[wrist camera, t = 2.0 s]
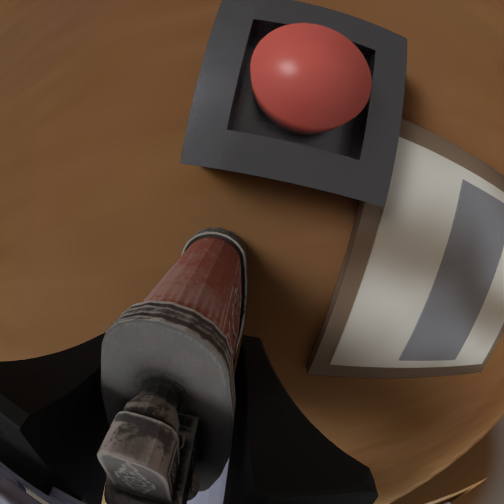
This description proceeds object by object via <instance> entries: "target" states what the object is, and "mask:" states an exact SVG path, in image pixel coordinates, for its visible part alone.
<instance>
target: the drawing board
mask: <svg viewBox="0 0 504 504" xmlns="http://www.w3.org/2000/svg"><path fill="white" fill-rule="evenodd" d="M503 332H504V176H503V175H502V174H500V173H499V172H497V171H496V170H495V169H493V168H492V167H490V166H489V165H487V164H486V163H484V162H483V161H481V160H480V159H478V158H476V157H475V156H473V155H472V154H470V153H468V152H467V151H465V150H463V149H462V148H460V147H458V146H456V145H455V144H453V143H451V142H449V141H447V140H446V139H444V138H442V137H440V136H438V135H436V134H434V133H432V132H430V131H428V130H426V129H424V128H422V127H420V126H418V125H416V124H413V123H411V122H409V121H407V120H405V119H401V126H400V133H399V139H398V146H397V151H396V157H395V162H394V168H393V173H392V177H391V182H390V187H389V191H388V196H387V200H386V204H385V207H381V206H378V205H375V204H371V203H368V202H364V201H361V200H360V202H359V206H358V211H357V215H356V218H355V222H354V226H353V230H352V234H351V237H350V241H349V244H348V248H347V251H346V255H345V258H344V262H343V265H342V268H341V272H340V275H339V278H338V281H337V284H336V287H335V290H334V293H333V296H332V299H331V302H330V305H329V308H328V311H327V314H326V317H325V320H324V322H323V325H322V328H321V331H320V333H319V336H318V339H317V341H316V344H315V346H314V349H313V352H312V354H311V357H310V359H309V362H308V364H307V366H306V369H307V373H308V374H309V375H321V376H334V377H354V378H418V377H436V376H449V375H460V374H469V373H477V372H481V371H482V370H483V368H484V367H485V365H486V363H487V362H488V360H489V358H490V356H491V355H492V353H493V351H494V349H495V348H496V346H497V344H498V342H499V340H500V338H501V336H502V334H503Z"/></svg>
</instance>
